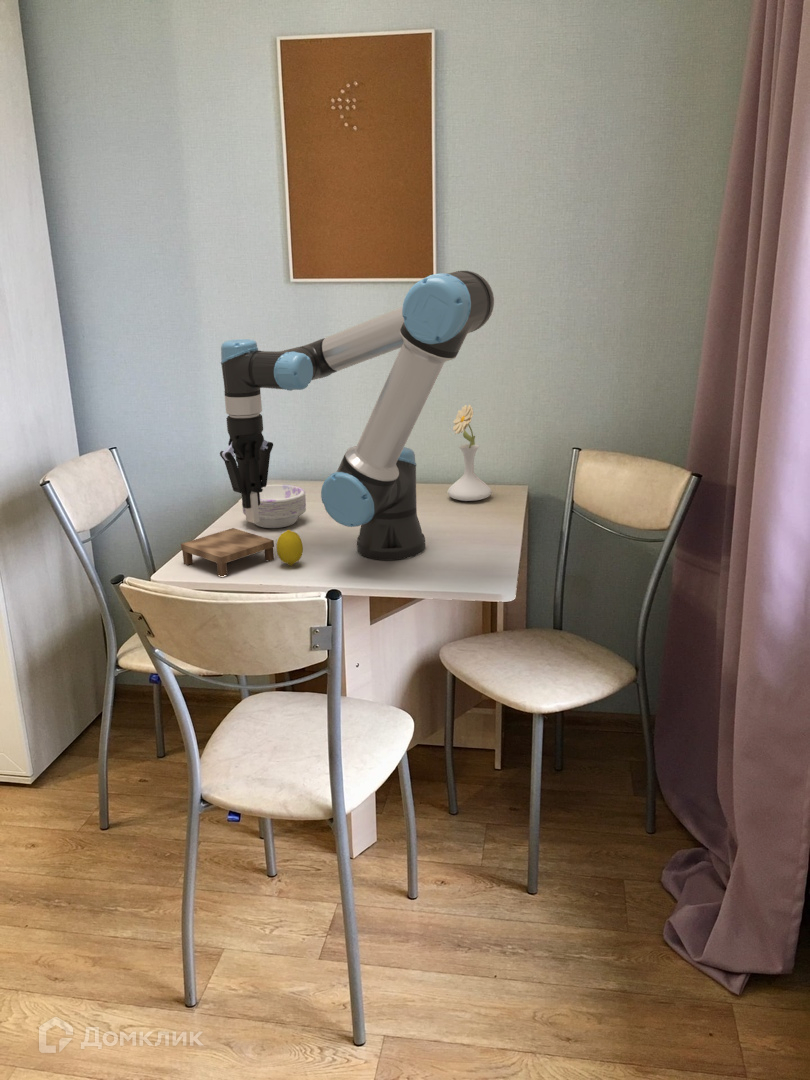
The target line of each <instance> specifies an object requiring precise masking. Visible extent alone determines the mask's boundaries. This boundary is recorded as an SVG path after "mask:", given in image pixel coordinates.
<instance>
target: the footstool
mask: <svg viewBox="0 0 810 1080" xmlns="http://www.w3.org/2000/svg"><path fill="white" fill-rule="evenodd" d="M180 546H181V547H180V548H181V551H182V560H183V565H185V564H186V565H185V566H189V564H190V565H193V564H194V560H193V558H194V557H193V555H194V556H196V557H200V558H202V559H205V560H207V561H211V562H213V563H216V570H217V576H218V575H220V576H224V575H227V576H228V567H227V566H228V565H227V563H230V562H233V561H236V560H239V559H242V558H245V557H248V556H251V555H254V554H256V553H260V552H262V551H264V560H265V561H267V562H271V561H274V560H275V553H274V548H275V541H274V539H272V538H268V537H264V536H262V535H257V534H254V533H251V532H248V531H245V530H241V529H238V528H235V527H232V528H229V529H225V530H222V531H219V532H215V533H212V534H209V535H206V536H201V537H198V538H195V539H193V540H189V541H186V542H183V543H180ZM192 563H193V564H192Z"/></svg>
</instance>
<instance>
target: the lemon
mask: <svg viewBox="0 0 810 1080" xmlns="http://www.w3.org/2000/svg"><path fill="white" fill-rule="evenodd" d="M276 553H277V556H278V558H279V559H280V561H281V562H283V563H285V564H287V565H288V566H289V567H290V566H291V567H292V566H294V564H296V563H297V562H299V561H300V560H301V558H302V557H303V553H304V545H303V541H302V538H301V537H300V535H299V534H298V533H297V532H296V531H292V530H291V529H287V530H285V531H284V532H281V534H280V535H279V536H278V538H277V541H276Z"/></svg>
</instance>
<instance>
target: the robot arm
mask: <svg viewBox="0 0 810 1080" xmlns="http://www.w3.org/2000/svg"><path fill="white" fill-rule="evenodd" d="M402 302H403V303H402V306H401V307H399V308H396V309H393V310H390V311H387V312H385V313H383V314H380V315H379V316H376V317H373V318H370V319H369V320H365V321H364V322H361V323H358V324H356V325H354V326H351V327H349V328H346V329H344V330H341V331H339V332H336V333H333V334H331V335H329V336H326V337H324V338H320V339H317V340H316V341H313V342H311V343H308V344H304V345H302V346H296V347H292V348H289V349H285V350H280V351H272V350H271V351H269V350H268V351H265V350H259V347H258V343H257V341H256V340H254V339H249V338H248V339H247V338H243V339H239V338H238V339H231V340H226V341H224V342H223V343H222V344H221V346H220V352H221V354H220V355H221V362H220V365H221V370H222V379H223V380H222V381H223V386H224V387H223V388H224V391H223V392H224V403H225V405H224V406H225V413H226V414H227V417H226V427H227V433H228V436H229V439H228V446H227V448H225V450H221V451H220V452H219V456H220V457H221V459H222V460H223V462H224V464H225V467H226V471H227V474H228V478H229V480H230V485H231V488H232V490H233V492H235V493H239V494H241V506H242V505H243V506H242V509H243V508H245V512H246V515H245V521H246V522H249V523H252V524H254V523H256V522H259V510H258V505H260V493H259V492H262V491H263V489H261V488H263V487H266V485H268V476H269V469H270V459H271V458H270V457H271V452H272V450H273V448H274V443H273V442H270V441H267V440H266V439H265V437H264V435H263V431H264V422H263V421H264V420H263V415H262V414H261V413H262V412H263V406H262V393H261V389H262V388H263V389H276V390H286V391H294V390H295V391H296V390H299V391H300V390H305V389H307V388H308V387H309V384H311V382H312V381H315V380H318V379H323V378H326V377H329V376H331V375H332V374H335V373H337V372H339V371H342V370H345V369H347V368H350V367H353V366H355V365H358V364H361V363H363V362H364V363H365V362H366V361H369V360H372V359H375V358H377V357H380V356H382V355H385V354H387V353H389V352H393V351H396V350H398V349H400V350H399V351H398V354H397V356H396V358H395V360H394V362H393V365H392V367H391V369H390V371H389V373H388V375H387V377H386V380H385V382H384V385H383V387H382V390H381V392H379V396H378V397H377V401H376V403H375V404H374V407H373V409H372V411H371V413H370V415H369V418H368V420H367V423H366V425H365V427H364V428H363V432H362V434H361V436H360V438H359V440H358V443H357V445H354V446H350V447H349V448H347V449H346V451H345V453H344V454H343V457H342V460H341V462H340V464H339V465H338V469H337V470H336V472H332V473H330V475H329V476H328V477H327V478H326V479H325V480H324V481H323V484H322V485H321V490H320V491H321V492H320V498H321V503H322V504H323V505H324V509H325V511H326V513H327V514H328V515H329V517H330V518H331V519H332V520H333V521H335V522H336V523H337V524H340V525H342V526H343V527H347V528H352V527H353V528H354V527H355V528H356V527H359V526H360V529H359V533H358V534H359V535H358V536H357V538H356V551H357V553H358V554H359V555H361V556H363V557H365V558H369V559H373V560H381V561H393V560H403V559H410V558H413V557H416V556H418V555H421V554H422V553H424V552H425V550H426V537H425V535H424V533H423V531H422V527H421V523H420V520H419V518H418V512H417V509H418V508H417V463H416V454H415V452H414V450H413V449H411V448H410V447H407V446H406V444H407V442H408V439H409V437H410V435H411V434H412V431H413V429H414V428H415V425H416V423H417V421H418V419H419V417H420V415H421V412H422V410H423V408H424V406H425V405H426V401H427V400H428V397H429V396H430V394H431V392H432V389H433V388H434V385H435V383H436V381H437V380H438V377H439V375H440V372H441V371H442V368H443V366H444V364H445V363H447V362H448V361H452V360H454V359H456V357H457V356H458V354H459V352H460V349H461V347H462V346H463V344H464V341H465V340H466V337H467V335H468V334H470V333H474V332H475V331H477V330H479V329H481V328H482V327H483V326H484V325H485V324H486V323H488V321H489V320H490V318H491V316H492V314H493V312H494V311H493V310H494V306H495V297H494V292H493V289H492V287H491V285H490V284H489V282H488V280H486V279H485V278H484V277H483V276H481V275H480V274H479V273H477V272H474V271H470V270H458V271H453V272H448V273H440V272H439V273H433V274H431V275H428V276H426V277H424V278H422V279H421V280H418V281H417V282H416V283H415V284H414V285H412V286H411V288H410V289H408V292H407V293H406V295H405V297H404V300H403V301H402Z"/></svg>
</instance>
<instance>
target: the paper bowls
mask: <svg viewBox="0 0 810 1080" xmlns="http://www.w3.org/2000/svg"><path fill="white" fill-rule="evenodd" d="M261 489H263V491H262V492H259V493H260V505H258V510H259V522H256V523H253V524H254V525H255V526H257V527H260V528H263V529H264V528H265V529H281V528H285V527H290V526H293V524H295V523H296V522H297V521H298V519H299V516H302V515H303V514H304V513H305V512H306V511H307V509H306V508H307V507H306V506H307V503H306V502H307V501H306V500H307V499H306V491H305V489H303V488H301V487H299V486H296V485H291V484H267V485H266V487H263V488H261ZM241 506H242V513H243V515H244V516H246V512H245V508H243V505H242V504H241Z"/></svg>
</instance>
